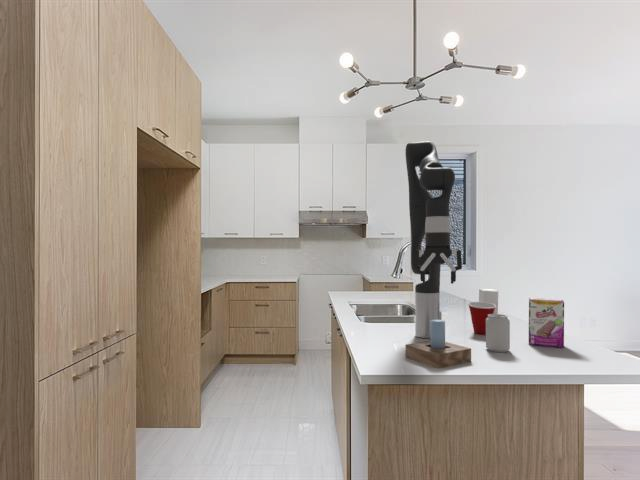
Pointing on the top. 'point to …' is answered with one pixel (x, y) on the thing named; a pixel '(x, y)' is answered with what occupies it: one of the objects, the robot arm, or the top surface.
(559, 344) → the candy bar box
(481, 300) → the skincare box
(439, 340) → the peg
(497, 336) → the can
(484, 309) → the plastic cup
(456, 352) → the socket block
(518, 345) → the top surface
